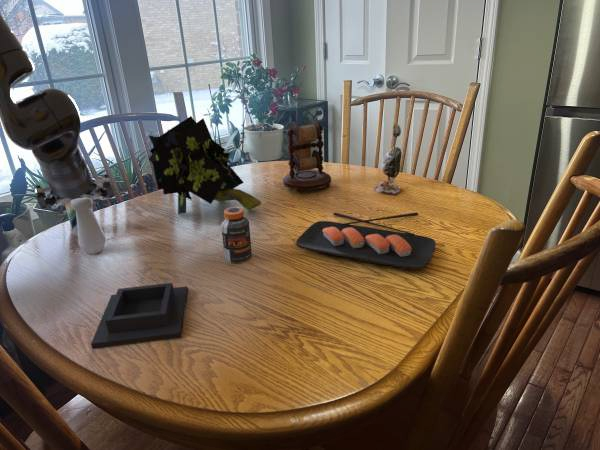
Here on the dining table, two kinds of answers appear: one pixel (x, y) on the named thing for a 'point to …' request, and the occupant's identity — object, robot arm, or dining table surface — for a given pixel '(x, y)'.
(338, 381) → the dining table surface
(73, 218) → the lotion bottle
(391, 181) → the grey upright piece
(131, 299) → the base pad
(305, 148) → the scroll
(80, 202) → the salt shaker
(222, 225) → the pill bottle
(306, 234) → the sushi plate
